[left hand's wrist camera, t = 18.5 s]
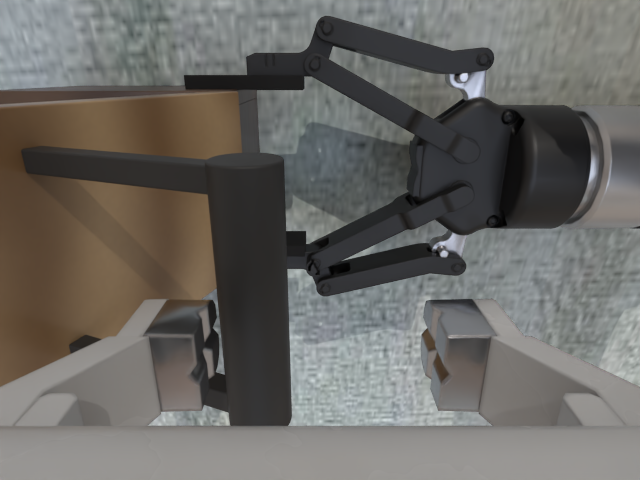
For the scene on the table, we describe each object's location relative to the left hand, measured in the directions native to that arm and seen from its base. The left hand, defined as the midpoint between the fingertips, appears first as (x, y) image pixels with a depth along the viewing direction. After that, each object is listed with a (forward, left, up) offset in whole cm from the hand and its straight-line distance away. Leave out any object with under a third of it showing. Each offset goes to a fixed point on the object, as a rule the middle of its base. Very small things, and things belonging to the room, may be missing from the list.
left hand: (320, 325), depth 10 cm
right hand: (-7, -2, -18) cm, 20 cm away
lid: (-7, -2, -8) cm, 11 cm away
